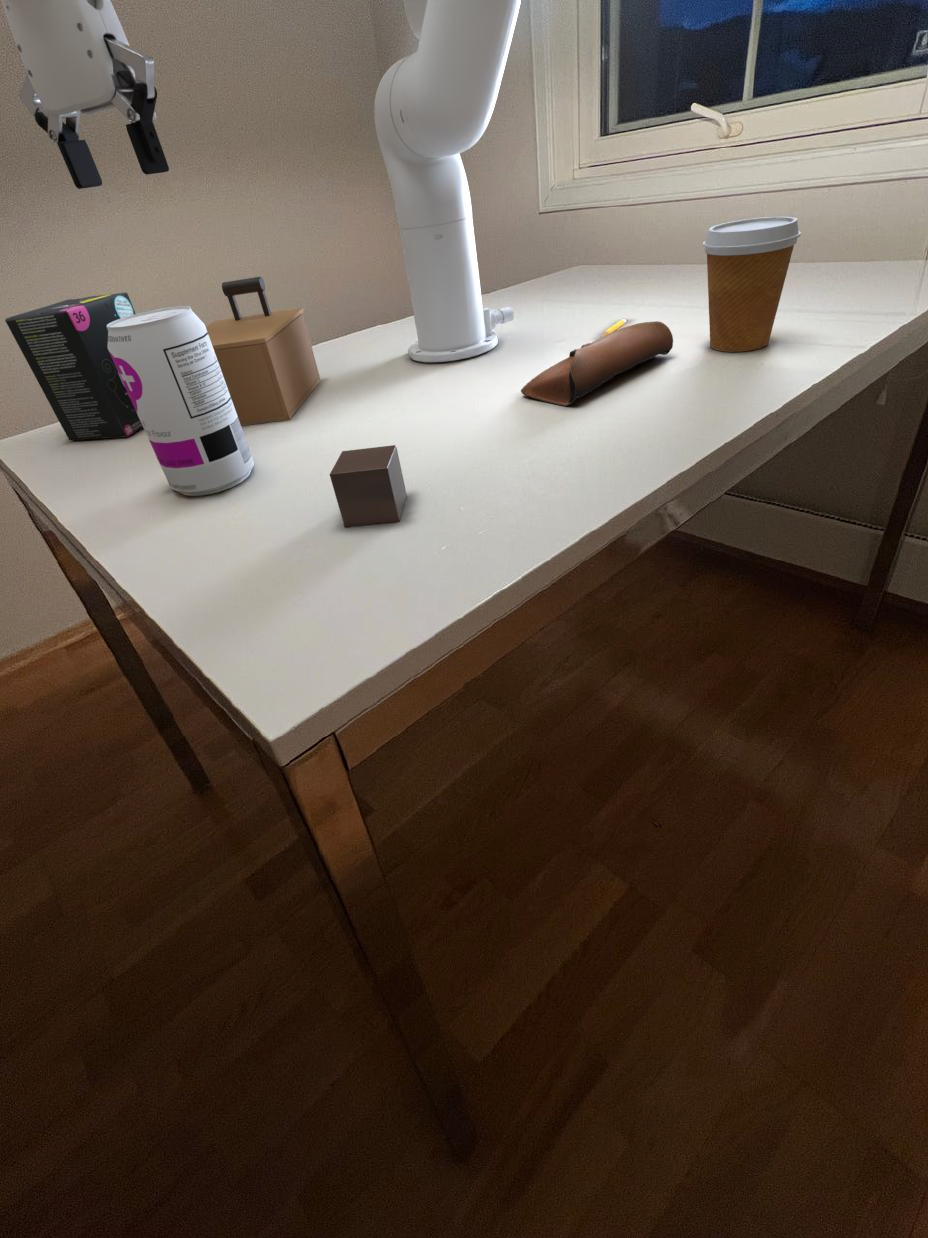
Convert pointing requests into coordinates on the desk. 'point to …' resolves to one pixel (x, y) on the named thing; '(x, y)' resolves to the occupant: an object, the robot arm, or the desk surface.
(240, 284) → the flap
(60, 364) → the tampon box
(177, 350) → the supplement can
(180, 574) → the desk surface
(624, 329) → the sunglasses case
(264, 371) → the carton
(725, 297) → the disposable coffee cup
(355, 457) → the block
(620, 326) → the pencil
